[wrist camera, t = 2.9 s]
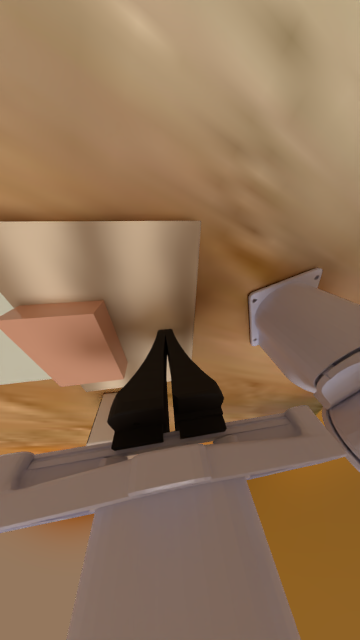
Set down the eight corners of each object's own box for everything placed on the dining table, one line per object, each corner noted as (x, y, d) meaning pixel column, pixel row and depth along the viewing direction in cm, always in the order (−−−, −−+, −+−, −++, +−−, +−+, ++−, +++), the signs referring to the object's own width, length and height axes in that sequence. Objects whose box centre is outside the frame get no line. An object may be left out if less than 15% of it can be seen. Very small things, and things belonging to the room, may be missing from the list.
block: (103, 300, 10) (93, 313, 9) (127, 362, 15) (124, 379, 13) (19, 305, 10) (-9, 320, 8) (71, 368, 14) (60, 386, 13)
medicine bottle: (102, 392, 23) (62, 510, 14) (143, 389, 24) (133, 495, 15) (111, 409, 27) (85, 509, 18) (146, 406, 29) (139, 498, 19)
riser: (191, 222, 11) (201, 220, 8) (186, 361, 21) (190, 378, 19) (-3, 223, 9) (-61, 221, 7) (95, 371, 20) (86, 391, 17)
